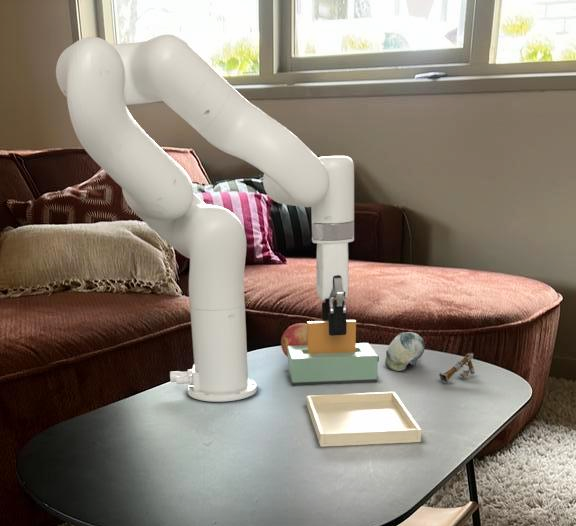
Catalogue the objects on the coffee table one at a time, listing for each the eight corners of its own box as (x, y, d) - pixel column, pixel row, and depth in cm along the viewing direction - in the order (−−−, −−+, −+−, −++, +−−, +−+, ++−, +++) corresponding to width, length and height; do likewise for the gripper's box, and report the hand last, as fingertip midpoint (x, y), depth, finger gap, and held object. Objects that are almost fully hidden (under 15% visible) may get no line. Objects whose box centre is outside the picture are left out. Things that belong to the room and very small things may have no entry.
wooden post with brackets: (480, 371, 145) (475, 351, 142) (450, 394, 143) (445, 374, 140) (473, 369, 146) (468, 349, 143) (444, 392, 144) (438, 372, 141)
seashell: (382, 377, 151) (405, 362, 160) (415, 366, 146) (437, 351, 156) (371, 347, 150) (395, 333, 159) (404, 334, 145) (426, 321, 154)
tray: (320, 446, 113) (320, 434, 112) (306, 406, 130) (306, 395, 130) (421, 442, 114) (421, 429, 113) (394, 402, 131) (394, 391, 131)
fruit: (305, 370, 151) (305, 329, 148) (273, 364, 155) (272, 325, 152) (326, 361, 157) (326, 322, 153) (295, 356, 161) (295, 318, 157)
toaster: (292, 385, 142) (291, 358, 140) (287, 370, 151) (287, 345, 149) (382, 381, 143) (383, 355, 141) (372, 367, 152) (373, 342, 150)
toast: (308, 375, 146) (308, 323, 141) (307, 373, 147) (307, 321, 143) (355, 373, 146) (356, 321, 142) (353, 371, 148) (354, 319, 143)
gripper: (306, 228, 143) (309, 320, 151) (317, 239, 128) (319, 341, 135) (346, 226, 143) (346, 317, 151) (362, 237, 128) (361, 338, 136)
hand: (334, 328), depth 143 cm, fingers open, 9 cm apart
